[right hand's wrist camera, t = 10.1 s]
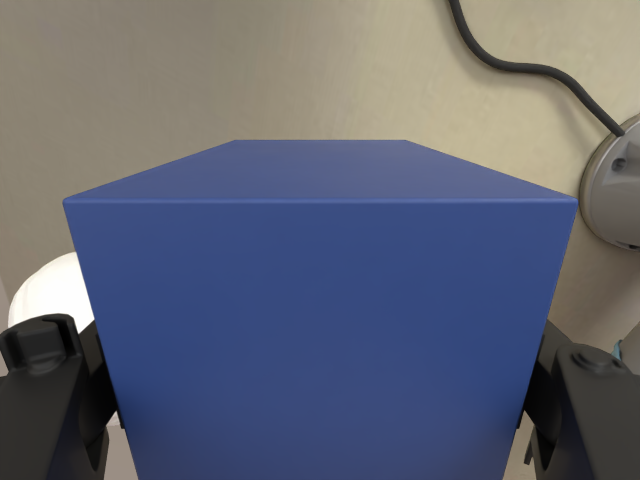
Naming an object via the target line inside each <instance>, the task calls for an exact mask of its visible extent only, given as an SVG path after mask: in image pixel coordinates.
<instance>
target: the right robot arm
mask: <svg viewBox="0 0 640 480" xmlns="http://www.w3.org/2000/svg"><path fill="white" fill-rule="evenodd" d="M449 3H450V6H451V9H452V12H453V16H454V19H455V22H456V24H457V27H458V29H459V32H460V34H461V36H462V38H463V40H464V41H465V43H466V44H467V46H468V47H469V49H470V50H471V51H472V52H473V53H474V54H475V55H476V56H477V57H478V58H479V59H480V60H482V61H483V62H485V63H486V64H488V65H490V66H492V67H494V68H497V69H501V70H505V71H513V72H530V73H539V74H544V75H548V76H551V77H553V78H555V79H557V80H559V81H561V82H562V83H564V84H565V85H566V86H567V87H568V88H570V89H571V91H572V92H573V93H574V94H575V95H576V96H577V97H578V98H579V100H580V101H581V102H582V103H583V104H584V105H585V106H586V107H587V108H588V109H589V110H590V111H591V112H592V113H593V114H594V115H595V116H596V117H597V118H598V119H599V120H600V121H601V122H602V123H603V124H604V125H605V126H606V127H607V128H608V129H609V130H610V131H611V132H612V133H611V134H610V135H609V136H608V137H607V138H606V139H605V140H604V141H603V142H602V144H601V145H600V146H599V147H598V149H597V150H596V151H595V153H594V154H593V156H592V158H591V159H590V161H589V163H588V165H587V167H586V170H585V172H584V175H583V178H582V182H581V186H580V197H579V201H580V209H581V213H582V216H583V218H584V221H585V223H586V224H587V226H588V227H589V228H590V230H591V231H592V232H593V233H594V234H595V235H597V236H598V237H600V238H601V239H603V240H605V241H607V242H609V243H611V244H613V245H616V246H618V247H621V248H623V249H627V250H633V251H638V252H640V113H639V114H637V115H636V116H634V117H632V118H630V119H629V120H627V121H626V122H624V123H623V124H622V125H620V126H619V125H618V124H617V123H616V122H615V121H614V120H613V119H612V118H611V117H610V116H609V115H608V114H607V113H606V112H605V111H604V110H603V109H602V108H601V107H600V106H599V105H598V104H597V103H596V102H595V101H594V100H593V99H592V98H591V97H590V96H589V95H588V93H587V92H586V91H585V90H584V89H583V88H582V86H581V85H580V84H579V83H578V82H577V81H576V80H574V79H573V78H572V77H571V76H569V75H568V74H566V73H564V72H562V71H560V70H558V69H556V68H553V67H550V66H545V65H540V64H529V63H514V62H507V61H502V60H499V59H497V58H495V57H493V56H491V55H490V54H488V53H487V52H486V51H485V50H484V49H482V48H481V47H480V45H479V44H478V43H477V42H476V40H475V39H474V38H473V36H472V34H471V32H470V31H469V28H468V26H467V24H466V21H465V19H464V16H463V13H462V10H461V6H460V3H459V0H449ZM0 351H1V354H2V356H3V358H4V361H5V363H6V366H7V368H8V371H9V372H8V374H7V376H3V377H0V480H104V473H105V466H106V460H107V453H108V446H109V435H108V431H107V427H106V425H107V424H108V422H109V421H110V419H111V418H112V416H113V415H114V413H115V412H117V415H118V419H119V422H120V426H121V428H122V429H124V425H123V421H122V418H121V414H120V410H119V407H118V403H117V400H116V396H115V392H114V389H113V385H112V381H111V378H110V374H109V370H108V367H107V363H106V360H105V356H104V352H103V349H102V345H101V341H100V338H99V334H98V330H97V327H96V323H95V320H93V321H92V322H91V323H90V324H89V325H88V326H87V327H86V328H84V329H83V330H82V331H81V332H80V333H79V334H78V331H77V327H76V324H75V320H74V318H73V317H72V316H70V315H69V314H62V313H55V314H45V315H41V316H37V317H34V318H30V319H27V320H25V321H22V322H20V323H17V324H15V325H14V326H12V327H10V328H8V329H7V330H5V331H3V332H2V333H1V334H0ZM524 410H525V411H526V413H527V414H528V416H529V417H530V418H531V420H532V421H533V423H534V427H533V431H532V434H531V437H530V441H529V444H528V447H527V451H526V454H525V459H524V463H525V464H527V465H529V464H530V461H531V458H532V457H533V459H534V466H535V472H536V479H537V480H640V322H639V323H638V324H637V325H636V326H635V327H634V328H633V330H632V331H631V332H630V333H629V334H628V335H627V336H626V337H625V338H624V339H623V340H619V341H618V342H617V343H616V344H615V346H614V351H613V352H612V353H611V354H609V353H607V352H605V351H603V350H600V349H598V348H595V347H591V346H588V345H584V344H576V343H573V342H572V341H571V340H570V339H569V338H567V337H566V336H565V335H564V334H563V333H562V332H561V331H560V330H559V329H558V328H557V327H555V326H554V325H553V324H552V323H551V322H550V321H549V320H548V319H547V320H546V324H545V327H544V331H543V335H542V338H541V342H540V345H539V349H538V353H537V356H536V360H535V363H534V367H533V371H532V374H531V378H530V382H529V385H528V389H527V392H526V396H525V400H524V403H523V407H522V411H521V414H520V418H519V421H518V425H517V429H519V427H520V423H521V420H522V416H523V413H524Z"/></svg>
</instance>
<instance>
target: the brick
mask: <svg viewBox="0 0 640 480" xmlns="http://www.w3.org/2000/svg"><path fill="white" fill-rule="evenodd" d="M578 204H579V202H578V200H577V199H576V198H574V197H571V196H568V195H565V194H562V193H559V192H557V191H554V190H551V189H548V188H545V187H542V186H539V185H536V184H533V183H530V182H527V181H524V180H521V179H518V178H515V177H512V176H510V175H507V174H504V173H501V172H498V171H495V170H492V169H489V168H486V167H483V166H480V165H477V164H474V163H471V162H468V161H465V160H463V159H460V158H457V157H454V156H451V155H448V154H445V153H442V152H439V151H436V150H433V149H430V148H427V147H424V146H421V145H418V144H416V143H413V142H410V141H407V140H234V141H231V142H228V143H225V144H222V145H219V146H216V147H213V148H210V149H208V150H205V151H202V152H199V153H196V154H193V155H190V156H187V157H184V158H181V159H178V160H175V161H172V162H169V163H167V164H164V165H161V166H158V167H155V168H152V169H149V170H146V171H143V172H140V173H137V174H134V175H131V176H129V177H126V178H123V179H120V180H117V181H114V182H111V183H108V184H105V185H102V186H99V187H96V188H93V189H91V190H88V191H85V192H82V193H79V194H76V195H73V196H70V197H67V198H65V199H64V200H63V207H64V210H65V214H66V218H67V221H68V225H69V229H70V232H71V236H72V240H73V243H74V247H75V250H76V254H77V258H78V261H79V265H80V269H81V272H82V276H83V280H84V283H85V287H86V290H87V294H88V298H89V301H90V305H91V309H92V312H93V316H94V320H95V323H96V327H97V330H98V334H99V338H100V341H101V345H102V349H103V352H104V356H105V360H106V363H107V367H108V370H109V374H110V378H111V381H112V385H113V389H114V392H115V396H116V400H117V403H118V407H119V410H120V414H121V418H122V421H123V425H124V429H125V432H126V436H127V440H128V443H129V447H130V450H131V454H132V458H133V461H134V465H135V469H136V472H137V476H138V480H502V479H503V476H504V472H505V468H506V465H507V461H508V458H509V454H510V450H511V447H512V443H513V439H514V436H515V432H516V429H517V425H518V421H519V418H520V414H521V411H522V407H523V403H524V400H525V396H526V392H527V389H528V385H529V382H530V378H531V374H532V371H533V367H534V363H535V360H536V356H537V353H538V349H539V345H540V342H541V338H542V335H543V331H544V327H545V324H546V320H547V316H548V313H549V309H550V306H551V302H552V298H553V295H554V291H555V287H556V284H557V280H558V277H559V273H560V269H561V266H562V262H563V259H564V255H565V251H566V248H567V244H568V240H569V237H570V233H571V230H572V226H573V222H574V219H575V215H576V211H577V208H578Z"/></svg>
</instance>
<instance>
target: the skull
mask: <svg viewBox="0 0 640 480" xmlns="http://www.w3.org/2000/svg"><path fill="white" fill-rule="evenodd" d="M55 313H62V314H69V315H70V316H72V317H73V318H74V320H75V324H76V327H77V331H78V334H79V333H80V332H81V331H82V330H83V329H84V328H86V327H87V326H88V325H89V324H90V323H91V322H92V321H93V320H94V316H93V312H92V309H91V305H90V301H89V298H88V294H87V290H86V287H85V283H84V280H83V276H82V272H81V269H80V265H79V261H78V258H77V254H76V252H73V253H68V254H65V255H63V256H61V257H58V258H56V259H55V260H53V261H51V262H50V263H48V264H46V265H44V266H43V267H42V268H41V269H40V270H39V271H38V272H36V273H35V274H33V275H32V276H30V277H29V278H28V279H27V280H26V281H25V282H24V283H23V284H22V286H21V287H20V289H19V290H18V291H17V293H16V294H15V296H14V298H13V301H12V304H11V306H10V311H9V319H8V328H10V327H12V326H14V325H15V324H17V323H20V322H22V321H25V320H27V319H30V318H34V317H37V316H41V315H45V314H55ZM108 425H111V426H116V425H120V422H119V419H118V415H117V412H115V413H114V415H113V416H112V418H111V419H110V421H109V422H108V424H107V425H106V426H108Z"/></svg>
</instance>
